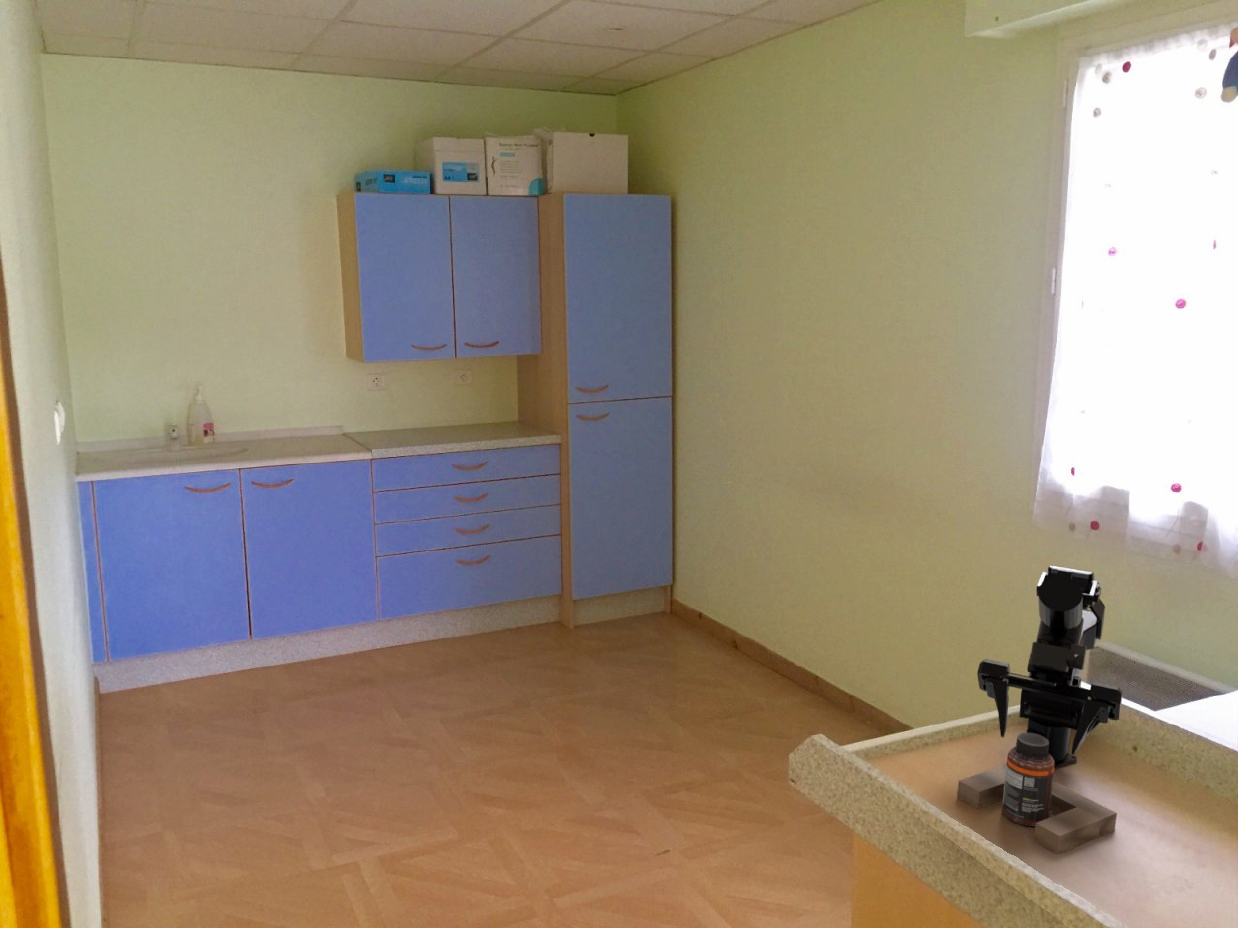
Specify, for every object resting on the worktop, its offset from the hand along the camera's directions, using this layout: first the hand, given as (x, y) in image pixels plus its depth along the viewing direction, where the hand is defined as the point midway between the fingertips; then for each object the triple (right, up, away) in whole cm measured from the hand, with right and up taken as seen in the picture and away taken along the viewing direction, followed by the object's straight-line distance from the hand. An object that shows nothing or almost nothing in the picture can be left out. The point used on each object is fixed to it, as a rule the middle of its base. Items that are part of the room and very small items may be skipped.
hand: (1037, 744), depth 143 cm
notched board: (-1, -9, -2) cm, 9 cm away
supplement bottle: (-3, -9, -3) cm, 10 cm away
